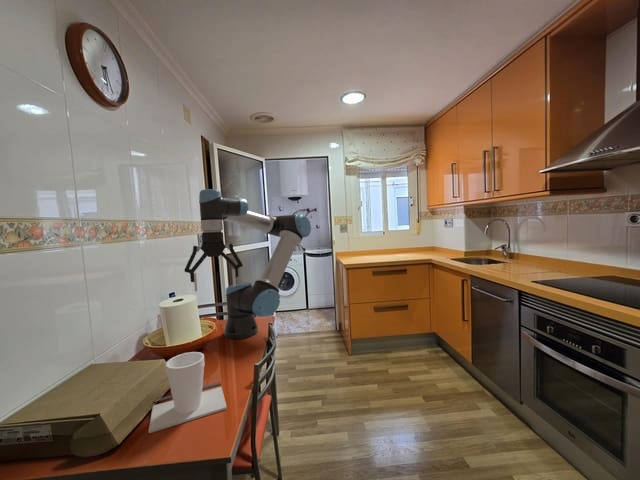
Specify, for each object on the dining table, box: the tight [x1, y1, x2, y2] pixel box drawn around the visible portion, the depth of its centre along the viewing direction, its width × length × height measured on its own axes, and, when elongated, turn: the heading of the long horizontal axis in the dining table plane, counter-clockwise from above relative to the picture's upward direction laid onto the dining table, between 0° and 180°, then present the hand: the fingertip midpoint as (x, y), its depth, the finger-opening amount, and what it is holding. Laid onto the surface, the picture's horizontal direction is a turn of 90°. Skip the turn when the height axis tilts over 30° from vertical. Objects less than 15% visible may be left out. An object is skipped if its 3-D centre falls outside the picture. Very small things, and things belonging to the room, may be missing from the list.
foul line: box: [159, 381, 222, 403], centre depth 83 cm, size 18×1×1 cm, turn 116°
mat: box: [148, 386, 227, 434], centre depth 76 cm, size 18×11×1 cm, turn 116°
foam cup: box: [165, 351, 206, 414], centre depth 75 cm, size 10×9×13 cm
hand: (215, 288), depth 104 cm, fingers open, 13 cm apart
